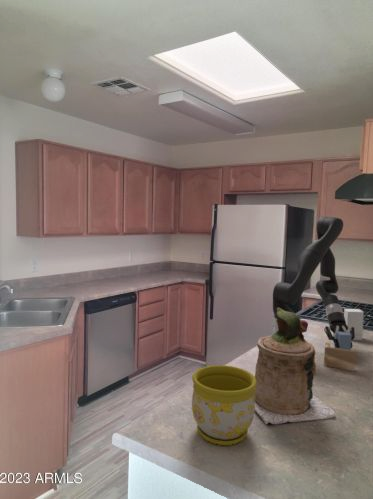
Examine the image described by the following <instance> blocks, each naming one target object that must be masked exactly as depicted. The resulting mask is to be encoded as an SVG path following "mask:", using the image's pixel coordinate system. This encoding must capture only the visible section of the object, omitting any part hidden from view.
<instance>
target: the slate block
mask: <svg viewBox="0 0 373 499" xmlns="http://www.w3.org/2000/svg"><path fill="white" fill-rule="evenodd" d="M336 333H337V339H338V342H339V346H340V347H339V349H345V350H352V348H351V336H352V335H351V334H349V333H348V332H336ZM334 348H336V347H335V346H334Z"/></svg>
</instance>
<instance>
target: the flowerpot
mask: <svg viewBox="0 0 373 499" xmlns="http://www.w3.org/2000/svg"><path fill="white" fill-rule="evenodd" d="M192 382H193V387H192V388H193V392H192V396H191V397H192V398H191V410H192V411H191V412H192V415H193V418H194V420H195V423H196V424H197V425H196V426H197V427H196V429H197V431H198V434H200V435H201V437H202V439H204V440H205V441H207V442H208V441H209V442H208V443H210V442H211V443H210V444H213V443H214V444H213V445H216V444H218V445H217V446H221V445H229V446H233V445H232V444H234V445H237V444H239V443H241V442H242V441H243V440H244V439H245V438H246V437H247V435H248V433H249V432H248V429H249V428H250V426H251V425H252V422H253V420H254V417H255V413H256V411H255V397H254V394H255V387H256V384H257V382H256V378H255V375H253V373H251V372H250V371H248V370H246V369H243V368H241V367H237V366H233V365H223V364H222V365H221V364H219V365H218V364H217V365H215V364H213V365H208V366H205V367H204V366H203V367H201V368H198V369H196V370H195V371H194V373H193V375H192ZM241 440H242V441H241ZM238 442H239V443H238ZM236 443H237V444H236Z"/></svg>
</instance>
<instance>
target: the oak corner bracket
mask: <svg viewBox="0 0 373 499" xmlns="http://www.w3.org/2000/svg"><path fill="white" fill-rule="evenodd" d="M356 352H357V351H356V350H353V349H351V350H345V349H339V348H335V347H332V346H331V340H329V339H326V340H325V345H324V354H323V356H324V357H323V366H324V367H331V368H335V369H341V370H346V371H347V370H348V371H353V372H355V369H356V358H357V357H356V356H357V354H356Z"/></svg>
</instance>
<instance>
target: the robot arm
mask: <svg viewBox="0 0 373 499" xmlns="http://www.w3.org/2000/svg"><path fill="white" fill-rule="evenodd" d="M343 228H344V221H343V220H342V219H341V218H339V217H335V216H333V217H332V216H321V217H319V218H318V220H317V223H316V235H317V236H316V237H317V240H315V241H314V242H313V243H310V244H309V245H307V246H306V247H305V248H304V249H303V251H302V252H301V254H300V256H299V257H298V259H297V264H296V265H297V275H296V277H295V278H294V279H293V281H292V283H288V282H283V281H279V282H276V284H275V285H274V288H273V290H272V312H273V328H272V329H273V332H271V334H270V336H271V335H273V334H275V333H276V332H277V331H278V325H277V322H276V320H277V308H281V309H282V310H284V311H287V312H292V313H295V311H293V309H291V307H289V305H290V306H292V305H293V306H294V305H296V304H297V303H298V301H299V300H300V299H301V297H302V295H303V293H304V291H305V289H306V286H307V285H308V283H309V281H310V280H311V279H312V278H311V277H312V276H313V274H314V272H316V270H317V268H318V266H319V267H320V268H319V273H320V276H322V277H325V278H329V279H320V280H318V281H316V284H315V289H316V292H317V294H318V295H319V297H320V299H322V302H323V305H324V307H325V313H326V318H327V322H328V325H329V326H327V325H325V327H324V329H323V331H324V333H325V335H326V337H327V338H328V339H327V340H330V341H332V342H333V344H334V348H335V347H336V348H339V347H340V346H339V342H338V339H337V333H336V332H347V330H349V332H350V334H351V335H352V336H351V349H352V348H353V346H354V344H353V342H352V341H354V340H353V339H354V338H355V332H354V327H352V328H350V327H348V326H347V325H346V321H345V318H344V312H343V311H344V310H343V309H342V306H341V303H340V300H339V297H338V296H337V295H336V293H338V291H339V283H338V280H337V277H336V258H335V254H334V253H333V252H332V249H331V246H332V245H333V244H334V243H335V242H336V240H337V239H338V238H339V236H340V235H341V233H342V232H343ZM332 333H333V334H332Z"/></svg>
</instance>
